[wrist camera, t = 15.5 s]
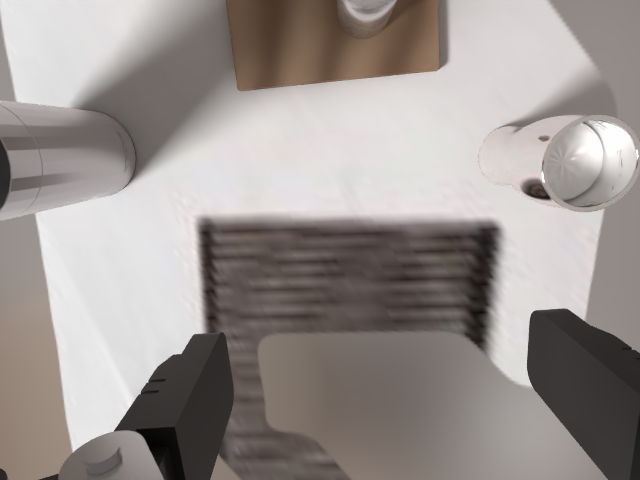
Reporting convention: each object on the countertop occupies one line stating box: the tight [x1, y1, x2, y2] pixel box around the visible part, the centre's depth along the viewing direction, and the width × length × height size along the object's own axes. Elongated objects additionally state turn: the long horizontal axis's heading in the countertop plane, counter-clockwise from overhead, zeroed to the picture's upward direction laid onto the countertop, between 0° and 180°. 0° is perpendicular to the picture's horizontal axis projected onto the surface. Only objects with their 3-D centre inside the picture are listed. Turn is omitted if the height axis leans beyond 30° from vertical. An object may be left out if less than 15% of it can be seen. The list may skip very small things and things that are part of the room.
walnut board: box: [226, 0, 439, 91], centre depth 40 cm, size 20×12×1 cm, turn 95°
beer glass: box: [478, 114, 640, 212], centre depth 35 cm, size 7×7×15 cm
